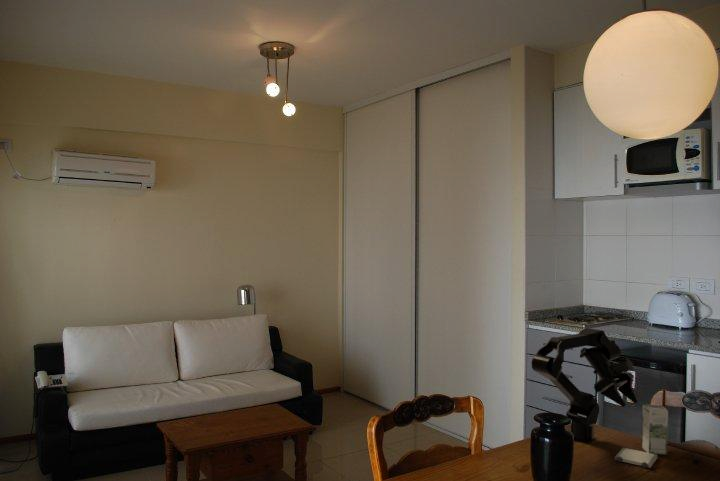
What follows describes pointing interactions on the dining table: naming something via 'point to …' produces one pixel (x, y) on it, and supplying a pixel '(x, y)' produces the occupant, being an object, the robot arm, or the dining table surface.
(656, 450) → the syrup box
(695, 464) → the dining table surface
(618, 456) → the dolly
